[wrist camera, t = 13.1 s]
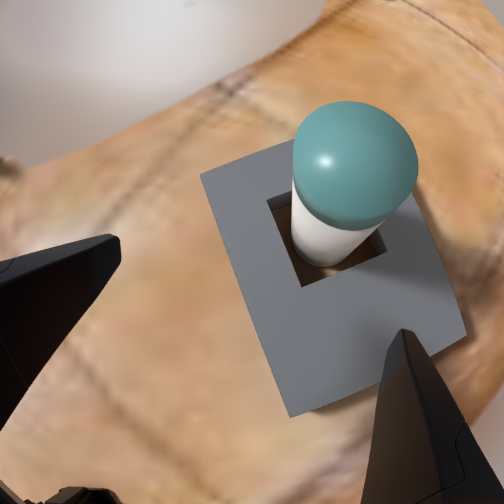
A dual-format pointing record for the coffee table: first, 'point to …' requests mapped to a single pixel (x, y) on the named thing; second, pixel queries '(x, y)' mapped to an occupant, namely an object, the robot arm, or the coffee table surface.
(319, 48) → the coffee table surface
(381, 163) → the peg
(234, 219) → the socket board
